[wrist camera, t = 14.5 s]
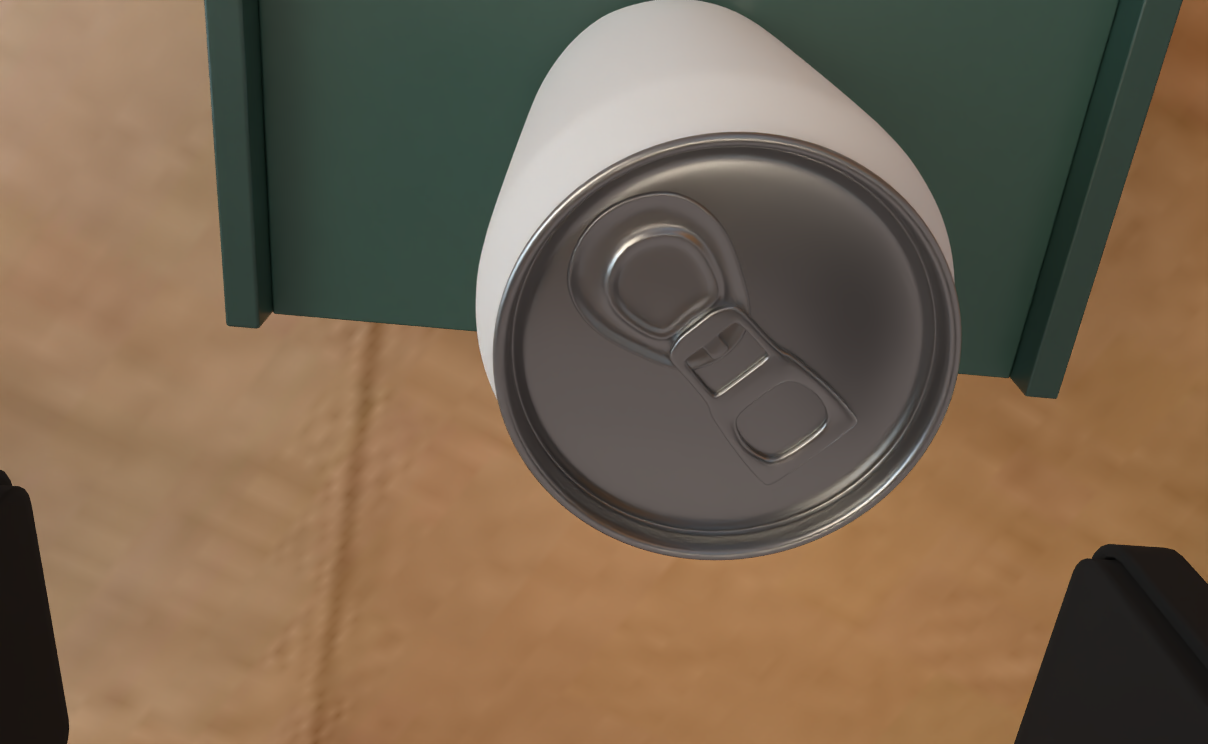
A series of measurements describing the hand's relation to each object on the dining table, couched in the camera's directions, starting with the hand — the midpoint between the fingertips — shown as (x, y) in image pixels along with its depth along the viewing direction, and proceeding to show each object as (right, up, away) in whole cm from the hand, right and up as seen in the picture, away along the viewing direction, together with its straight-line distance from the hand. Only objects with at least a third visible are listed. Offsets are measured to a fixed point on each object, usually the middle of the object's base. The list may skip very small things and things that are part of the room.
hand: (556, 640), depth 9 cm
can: (+2, +8, +14) cm, 16 cm away
